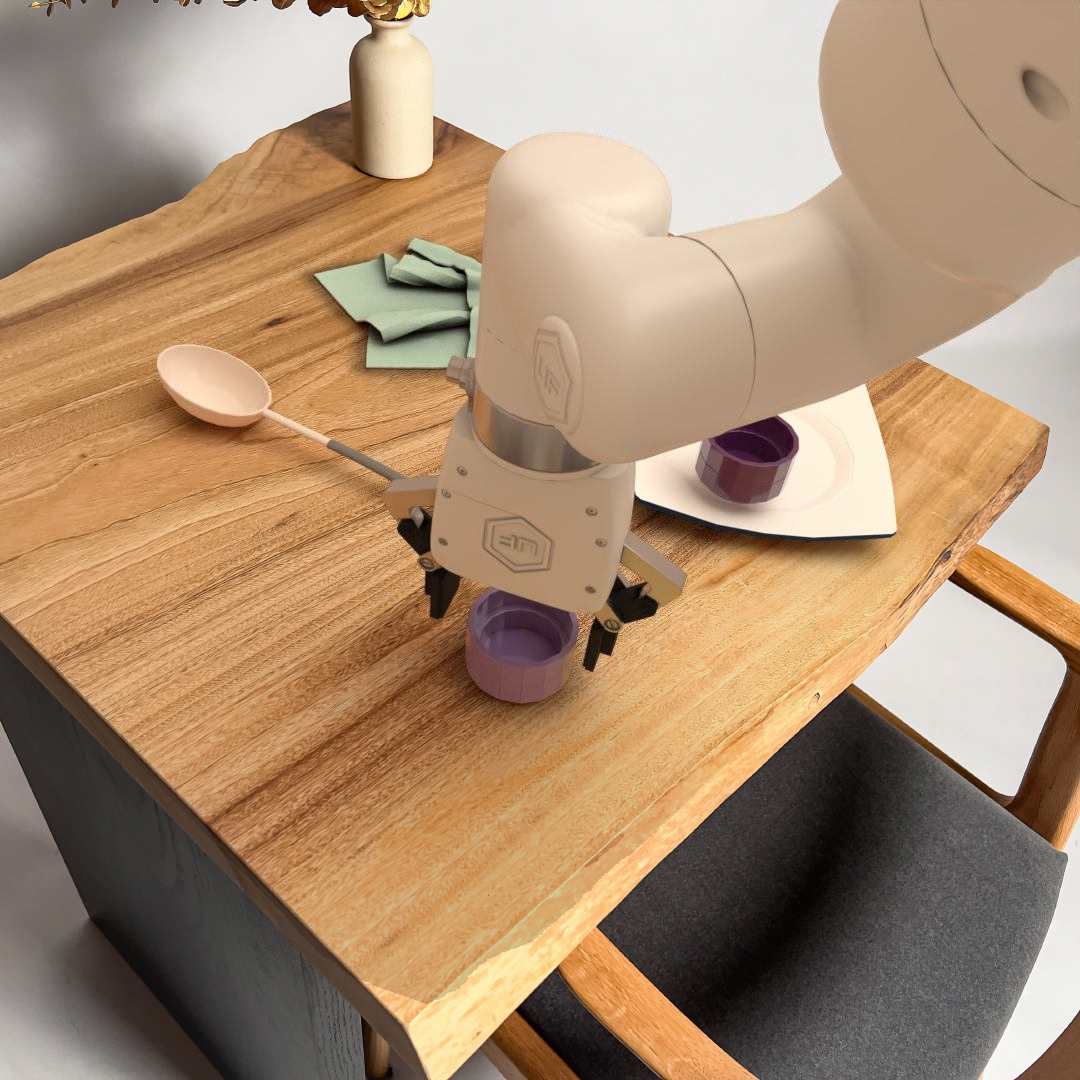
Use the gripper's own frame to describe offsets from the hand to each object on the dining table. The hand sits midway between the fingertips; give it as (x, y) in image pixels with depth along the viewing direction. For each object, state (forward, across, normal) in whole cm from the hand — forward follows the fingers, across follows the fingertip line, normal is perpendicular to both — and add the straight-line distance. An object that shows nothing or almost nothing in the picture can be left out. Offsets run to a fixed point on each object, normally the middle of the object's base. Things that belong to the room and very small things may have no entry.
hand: (518, 627), depth 60 cm
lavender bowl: (+3, 0, 0) cm, 3 cm away
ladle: (+4, -19, +12) cm, 23 cm away
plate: (+3, +11, +26) cm, 28 cm away
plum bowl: (+1, +10, +20) cm, 22 cm away
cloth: (+4, -20, +34) cm, 40 cm away
